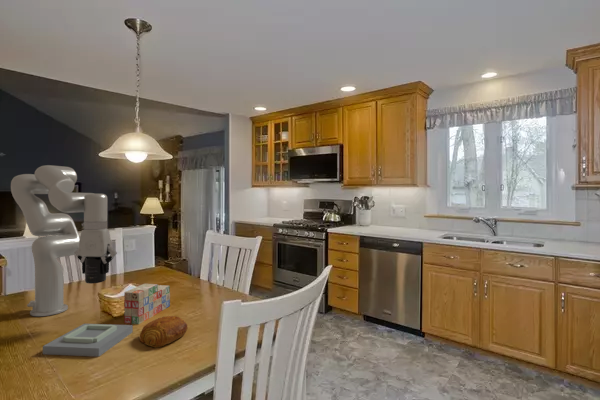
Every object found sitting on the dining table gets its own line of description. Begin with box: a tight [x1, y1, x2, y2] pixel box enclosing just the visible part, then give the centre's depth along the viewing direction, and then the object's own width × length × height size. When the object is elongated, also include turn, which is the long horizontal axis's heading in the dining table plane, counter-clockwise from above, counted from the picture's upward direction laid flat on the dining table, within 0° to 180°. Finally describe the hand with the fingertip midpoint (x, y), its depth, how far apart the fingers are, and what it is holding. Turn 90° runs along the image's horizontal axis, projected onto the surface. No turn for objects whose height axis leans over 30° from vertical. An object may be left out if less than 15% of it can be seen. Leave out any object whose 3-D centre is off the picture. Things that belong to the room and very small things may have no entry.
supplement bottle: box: [84, 257, 107, 285], centre depth 125 cm, size 7×7×12 cm
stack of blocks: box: [123, 283, 171, 325], centre depth 136 cm, size 21×6×12 cm, turn 170°
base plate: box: [42, 323, 134, 357], centre depth 110 cm, size 18×18×4 cm
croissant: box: [139, 315, 189, 348], centre depth 114 cm, size 14×16×8 cm
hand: (95, 272), depth 125 cm, fingers closed on supplement bottle, 6 cm apart
